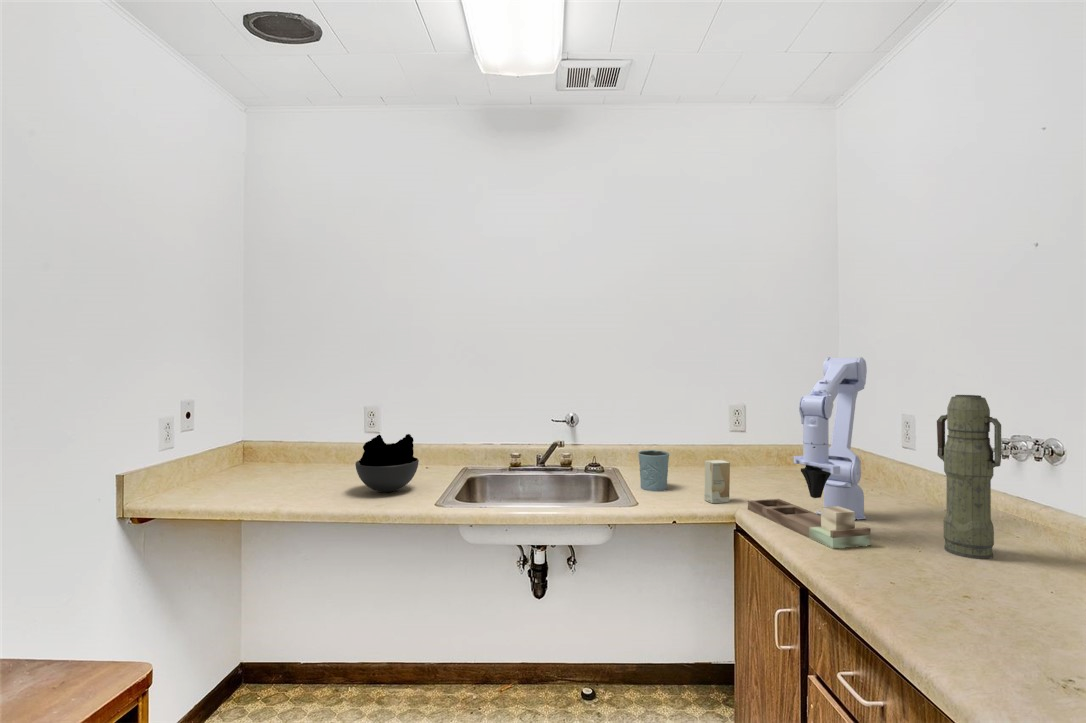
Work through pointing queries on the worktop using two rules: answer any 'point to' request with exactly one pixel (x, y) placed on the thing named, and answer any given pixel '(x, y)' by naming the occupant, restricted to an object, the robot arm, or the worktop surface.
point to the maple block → (837, 518)
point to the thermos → (968, 475)
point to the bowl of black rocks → (387, 464)
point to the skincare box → (717, 481)
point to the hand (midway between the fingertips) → (815, 497)
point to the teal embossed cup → (653, 470)
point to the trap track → (809, 524)
